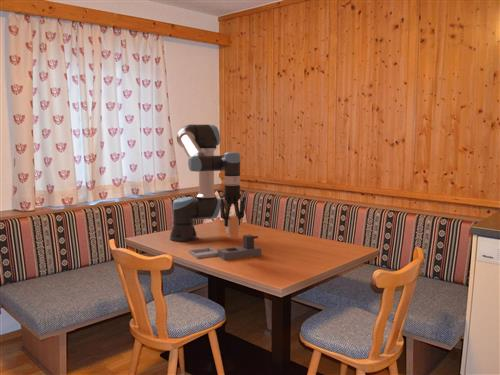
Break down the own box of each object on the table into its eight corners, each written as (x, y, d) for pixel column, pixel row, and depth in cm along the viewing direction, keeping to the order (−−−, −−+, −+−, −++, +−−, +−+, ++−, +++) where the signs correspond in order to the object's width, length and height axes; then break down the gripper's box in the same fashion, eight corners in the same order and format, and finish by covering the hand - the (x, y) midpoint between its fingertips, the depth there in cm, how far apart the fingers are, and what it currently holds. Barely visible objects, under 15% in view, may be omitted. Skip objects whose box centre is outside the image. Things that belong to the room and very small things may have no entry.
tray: (188, 253, 232) (188, 249, 232) (209, 251, 237) (209, 247, 237) (196, 259, 222) (196, 255, 222) (218, 256, 227) (218, 252, 227)
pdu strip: (217, 257, 227) (217, 237, 225) (253, 252, 236) (253, 233, 234) (224, 261, 220) (224, 240, 218) (261, 256, 229) (261, 236, 227)
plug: (227, 236, 225) (226, 216, 224) (234, 235, 227) (234, 215, 226) (230, 237, 221) (230, 217, 220) (238, 237, 223) (238, 216, 222)
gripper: (219, 186, 214) (219, 235, 217) (251, 184, 222) (251, 232, 224) (212, 184, 220) (213, 232, 223) (244, 182, 228) (244, 229, 231)
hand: (232, 232), depth 224 cm, fingers closed on plug, 4 cm apart
